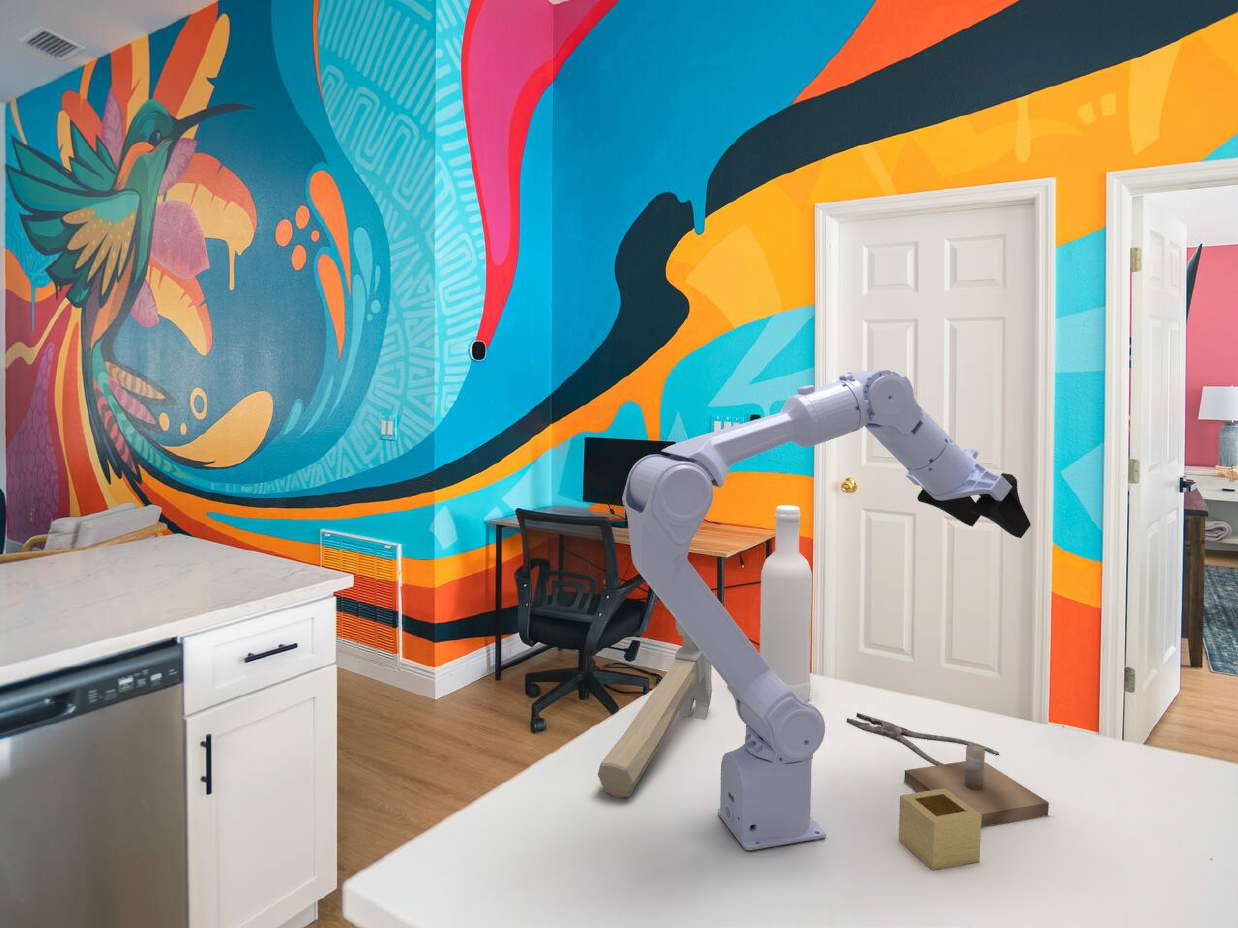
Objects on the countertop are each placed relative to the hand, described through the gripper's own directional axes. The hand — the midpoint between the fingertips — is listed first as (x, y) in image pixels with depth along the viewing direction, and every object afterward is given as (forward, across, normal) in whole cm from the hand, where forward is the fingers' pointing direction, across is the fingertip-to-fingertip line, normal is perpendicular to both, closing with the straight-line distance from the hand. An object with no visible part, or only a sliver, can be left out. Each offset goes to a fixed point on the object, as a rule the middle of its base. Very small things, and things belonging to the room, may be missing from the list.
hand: (998, 525), depth 92 cm
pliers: (+21, +13, +25) cm, 35 cm away
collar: (+11, -9, +33) cm, 36 cm away
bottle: (+14, +33, +31) cm, 47 cm away
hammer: (-4, +21, +47) cm, 52 cm away
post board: (+19, -1, +26) cm, 32 cm away
